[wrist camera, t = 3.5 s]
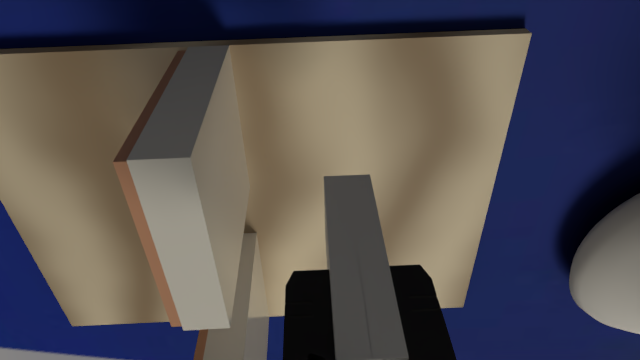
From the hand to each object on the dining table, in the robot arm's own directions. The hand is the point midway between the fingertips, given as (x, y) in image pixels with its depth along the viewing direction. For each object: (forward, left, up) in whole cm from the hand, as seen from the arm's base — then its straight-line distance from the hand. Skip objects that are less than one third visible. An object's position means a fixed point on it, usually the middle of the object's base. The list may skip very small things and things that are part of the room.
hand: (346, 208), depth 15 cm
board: (-4, -5, -7) cm, 9 cm away
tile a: (-5, 0, -6) cm, 8 cm away
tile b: (-5, -10, -6) cm, 13 cm away
